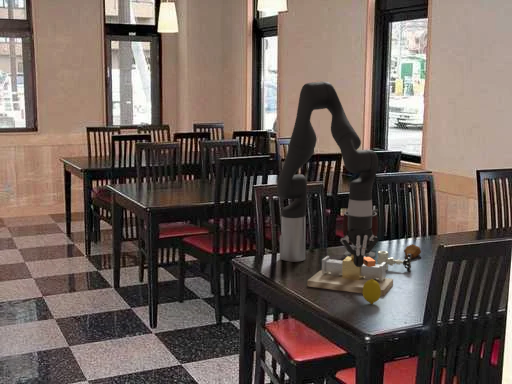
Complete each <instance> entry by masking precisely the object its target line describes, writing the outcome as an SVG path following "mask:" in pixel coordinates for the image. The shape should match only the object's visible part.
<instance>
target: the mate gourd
mask: <svg viewBox="0 0 512 384" xmlns="http://www.w3.org/2000/svg"><path fill="white" fill-rule="evenodd" d="M378 211H379V209H378V208H376V209H372V227H371V230H372V233H373V235H374V236H376V237H377V238H378V232H379V221H378V213H377V212H378ZM347 231H348V210H347V211H344V212H343V218H342V235H343V238H344V237H345V236H346V233H347ZM368 242H369V240H368ZM368 242H367V243H368ZM367 243H366V245H367ZM348 244H349V245H352V243H351V241H350V240H349V243H348ZM343 255H344V257H345V258H346V257H347V256H349V257H351V254H350V253H349V252H348V251H347V250H346V251H345V252H344V254H343ZM364 256H365V257H370V258H372V259H374V258H375V257H376V252H374V251H372V250H371V251H370V252H369V253H366V254H364Z"/></svg>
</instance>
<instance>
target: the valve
mask: <svg viewBox="0 0 512 384" xmlns="http://www.w3.org/2000/svg"><path fill="white" fill-rule="evenodd" d="M408 256H409V257H408V258H406V257H405V258H404V259H402V260H401V259H395V258H394V257H393V256H392V257H389V252H388V251H386V250H379V251H378V252H377V259H376V262H377V263H376V264H378V265H381V264H382V263H383V262H386V271H388V270H389V266H390V267H391V266H394V265H395V264H396V265H398V266H400V265H401V264H402V266H404V268H405V269H406V271H407V272H409V273H411V268H412V259H411V254H408Z"/></svg>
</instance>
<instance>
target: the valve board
mask: <svg viewBox="0 0 512 384" xmlns="http://www.w3.org/2000/svg"><path fill="white" fill-rule="evenodd" d="M367 281H368V280H365V276H363V277H362V278H361V279H360V280H352V279H344V278H342V275H341V276H339V277H337V276H331V272H327V273H326V274H325V275H323V274H322V269H321V270H319V271H318V272H316V273H314V275H313V276H311V277H309V279H307V287H311V288H319V289H325V290H326V289H328V290H333V291H341V292H350V293H358V294H363V286H364V284H365V283H366V282H367ZM375 281H377V282H378V283H379V285H380V288H381V295H380V297H384V296H385V295H386V294H387V293H388V292H389V291H390V289H391V288H392V287H393V285H394V278H388V277H385V279H384V280H383V281H379V278H376V279H375Z"/></svg>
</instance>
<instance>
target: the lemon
mask: <svg viewBox="0 0 512 384" xmlns="http://www.w3.org/2000/svg"><path fill="white" fill-rule="evenodd" d="M380 295H381V288H380V285H379V283H378V282H377V281H375V280H373V279H371V280H368V281H367V282H366V283H365V284H364V286H363V293H362V296H363V299H364V300H365V301H366V302H367V303H369V304H371V305H373V304H374V303H376V302H377V301H379V299H380V297H381V296H380Z"/></svg>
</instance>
